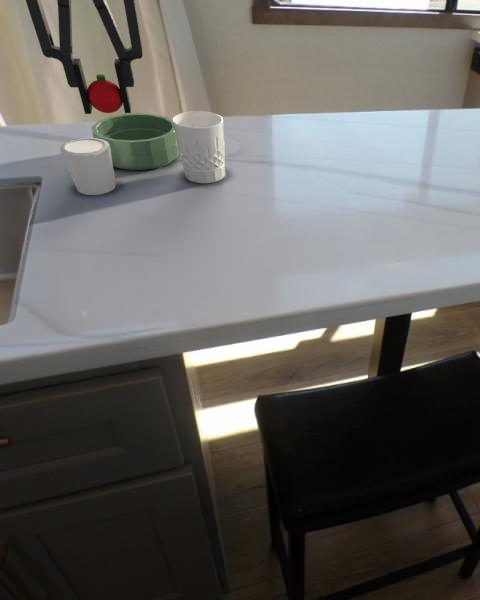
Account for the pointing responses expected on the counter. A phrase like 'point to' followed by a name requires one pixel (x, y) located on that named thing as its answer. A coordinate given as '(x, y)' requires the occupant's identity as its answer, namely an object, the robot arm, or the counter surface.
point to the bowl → (138, 140)
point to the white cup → (201, 145)
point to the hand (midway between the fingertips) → (108, 109)
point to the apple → (104, 95)
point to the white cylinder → (90, 165)
